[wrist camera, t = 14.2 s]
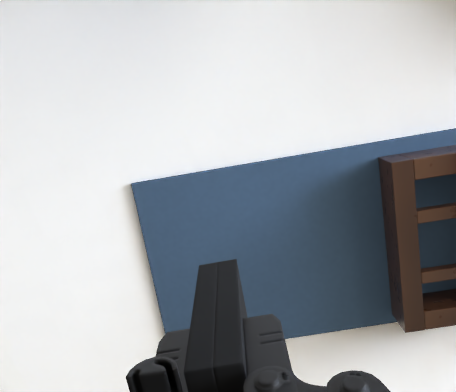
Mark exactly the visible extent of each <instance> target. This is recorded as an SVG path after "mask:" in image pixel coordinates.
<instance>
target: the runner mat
mask: <svg viewBox="0 0 456 392" xmlns="http://www.w3.org/2000/svg"><path fill="white" fill-rule="evenodd" d="M451 145H456V128H455V129H449V130H443V131H437V132H431V133H426V134H420V135H414V136H408V137H402V138H396V139H390V140H384V141H378V142H372V143H367V144H361V145H355V146H349V147H343V148H337V149H331V150H325V151H319V152H313V153H308V154H302V155H296V156H290V157H284V158H278V159H272V160H266V161H260V162H255V163H249V164H243V165H237V166H231V167H225V168H219V169H213V170H207V171H201V172H196V173H190V174H184V175H178V176H172V177H166V178H160V179H154V180H148V181H143V182H137V183H132V184H131V185H132V190H133V194H134V198H135V203H136V207H137V212H138V216H139V220H140V225H141V229H142V234H143V238H144V242H145V247H146V251H147V256H148V260H149V264H150V269H151V273H152V278H153V282H154V286H155V291H156V295H157V300H158V304H159V308H160V313H161V317H162V322H163V326H164V330H165V335H166V333H167V332H171V331H178V330H184V329H190V324H191V317H192V310H193V303H194V297H195V290H196V283H197V276H198V269H199V265H204V264H209V263H215V262H221V261H227V260H233V259H237V264H238V269H239V275H240V280H241V285H242V291H243V296H244V301H245V306H246V312H247V317H248V318H249V317H255V316H261V315H267V314H273V315H274V316H276V317H277V318H278V319H279V320H280V321H281V325H282V329H283V334H284V338H285V339H288V338H294V337H301V336H308V335H314V334H321V333H327V332H334V331H341V330H347V329H354V328H360V327H367V326H374V325H380V324H387V323H393V322H397V320H396V319H395V318H394V316H393V315H392V308H391V297H390V286H389V275H388V263H387V252H386V241H385V229H384V218H383V207H382V196H381V184H380V173H379V162H378V157H383V156H389V155H395V154H402V153H408V152H414V151H420V150H426V149H432V148H439V147H445V146H451ZM414 181H415V195H416V208H422V207H428V206H435V205H441V204H448V203H454V202H456V174H451V175H445V176H438V177H432V178H426V179H419V180H414ZM417 224H418V223H417ZM418 238H419V252H420V266H421V269H422V268H428V267H435V266H441V265H448V264H455V263H456V218H452V219H446V220H439V221H433V222H426V223H420V224H418ZM450 289H456V279H452V280H445V281H439V282H432V283H425V284H422V294H423V293H430V292H436V291H443V290H450Z"/></svg>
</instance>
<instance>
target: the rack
mask: <svg viewBox="0 0 456 392" xmlns="http://www.w3.org/2000/svg"><path fill="white" fill-rule="evenodd" d="M378 162H379V173H380V184H381V196H382V207H383V218H384V229H385V241H386V252H387V263H388V275H389V286H390V297H391V308H392V315H393V316H394V318H395V319H396V320H397V322H398V323H399V325H400V326H401V327H402V329H403V330H404V331H405V332H413V331H420V330H425V329H433V328H439V327H446V326H453V325H456V289H450V290H443V291H436V292H430V293H423V294H422V284H425V283H432V282H439V281H445V280H452V279H456V263H455V264H448V265H441V266H435V267H428V268H422V269H421V266H420V252H419V238H418V224H420V223H426V222H433V221H439V220H446V219H452V218H456V202H454V203H448V204H441V205H435V206H428V207H422V208H416V195H415V181H414V180H419V179H426V178H432V177H438V176H445V175H451V174H456V145H451V146H445V147H439V148H432V149H426V150H420V151H414V152H408V153H402V154H395V155H389V156H383V157H378ZM417 223H418V224H417Z"/></svg>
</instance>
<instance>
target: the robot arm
mask: <svg viewBox="0 0 456 392" xmlns="http://www.w3.org/2000/svg"><path fill="white" fill-rule="evenodd" d="M126 380H127V383H128V387H129V390H130V392H390V391H389V390H388V389H387V387H386V386H385V385H384V384H383V383H382V382H381V381H380V380H379V379H377V378H376V377H375V376H373V375H372V374H369V373H366V372H363V371H346V372H341V373H339V374H337V375H335V376H333V377H332V378H331V380H330V381H329V382H328V384H327V387H326V386H316V385H310V384H308V383H305V382H303V381H301V380H300V379H298V378H297V377H296V376H295V375H294V373H293V371H292V368H291V364H290V360H289V355H288V351H287V347H286V342H285V338H284V334H283V329H282V325H281V321H280V320H279V319H278V318H277V317H276V316H274V315H273V314H267V315H261V316H255V317H249V318H248V317H247V312H246V306H245V301H244V296H243V291H242V285H241V280H240V275H239V269H238V264H237V259H233V260H227V261H221V262H215V263H209V264H204V265H199V269H198V276H197V283H196V290H195V297H194V303H193V310H192V317H191V324H190V329H184V330H178V331H171V332H167V333H166V335H165V336H164V337H163V338H162V339H161V341H160V342H159V345H158V349H157V354H156V356H155V357H153V358H150V359H146V360H144V361H142V362H140V363H138V364H137V365H136V366H134V367H133V368H132V369H131V370H130V371H129V373H128V374H127V376H126Z"/></svg>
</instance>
